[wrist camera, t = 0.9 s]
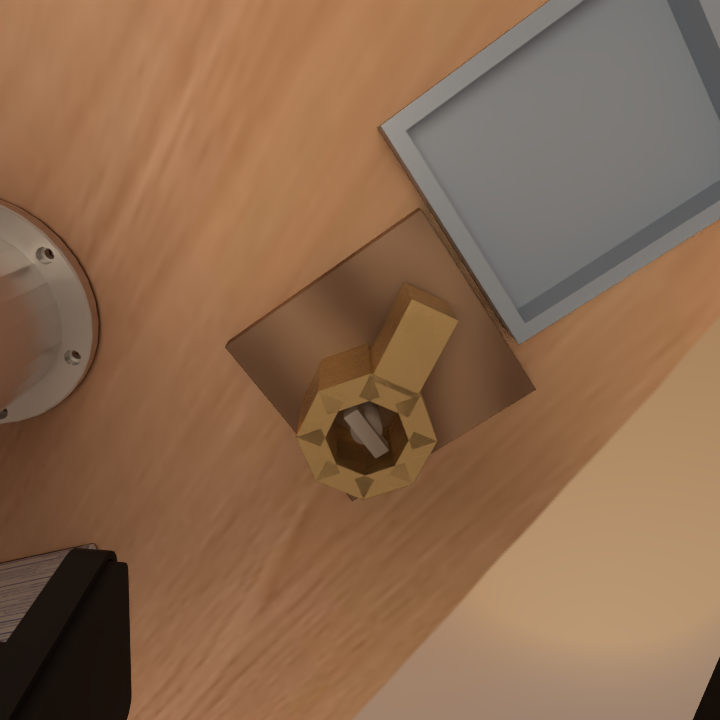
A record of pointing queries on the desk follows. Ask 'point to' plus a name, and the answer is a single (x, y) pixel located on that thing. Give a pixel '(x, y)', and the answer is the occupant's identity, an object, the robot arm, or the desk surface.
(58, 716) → the robot arm
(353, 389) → the ring
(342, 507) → the desk surface
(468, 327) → the board
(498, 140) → the tray
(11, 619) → the medicine box
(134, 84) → the desk surface
